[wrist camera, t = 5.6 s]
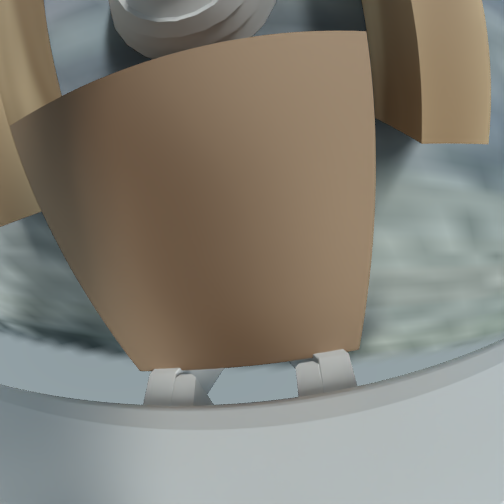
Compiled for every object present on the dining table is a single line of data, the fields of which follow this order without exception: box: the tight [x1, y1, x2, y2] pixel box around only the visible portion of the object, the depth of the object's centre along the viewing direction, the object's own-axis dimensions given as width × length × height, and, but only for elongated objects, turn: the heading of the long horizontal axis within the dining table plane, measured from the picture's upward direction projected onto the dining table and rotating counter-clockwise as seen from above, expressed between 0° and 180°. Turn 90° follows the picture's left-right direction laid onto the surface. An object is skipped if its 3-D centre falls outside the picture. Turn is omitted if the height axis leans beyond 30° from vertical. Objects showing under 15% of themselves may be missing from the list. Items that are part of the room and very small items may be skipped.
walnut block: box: [10, 31, 376, 371], centre depth 7 cm, size 6×7×5 cm
